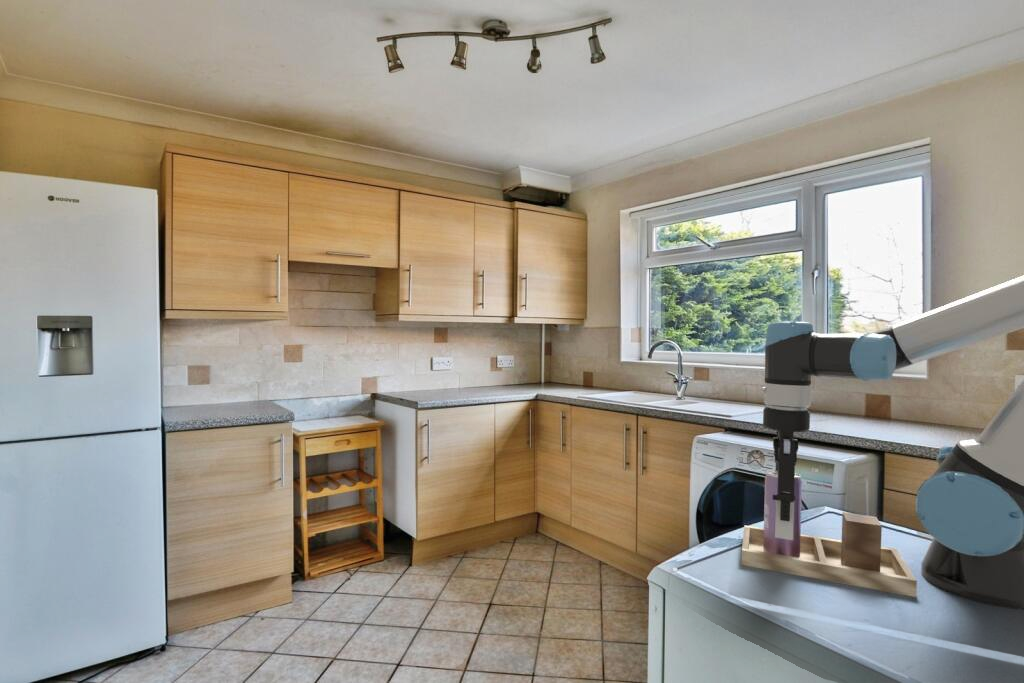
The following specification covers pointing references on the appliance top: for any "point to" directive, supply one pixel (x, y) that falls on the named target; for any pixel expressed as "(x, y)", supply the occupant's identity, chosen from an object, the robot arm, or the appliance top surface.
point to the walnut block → (861, 542)
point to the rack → (829, 563)
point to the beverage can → (770, 541)
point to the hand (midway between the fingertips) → (782, 526)
